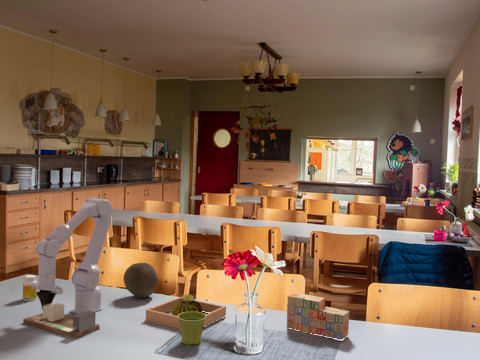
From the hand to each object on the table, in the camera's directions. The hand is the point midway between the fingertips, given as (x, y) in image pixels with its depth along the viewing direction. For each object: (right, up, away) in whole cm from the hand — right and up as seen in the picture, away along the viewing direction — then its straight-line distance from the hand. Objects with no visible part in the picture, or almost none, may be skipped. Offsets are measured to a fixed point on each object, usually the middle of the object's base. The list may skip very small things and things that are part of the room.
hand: (46, 310), depth 169 cm
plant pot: (+54, -7, -14) cm, 56 cm away
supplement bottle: (-18, -3, +26) cm, 32 cm away
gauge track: (+7, -4, -4) cm, 9 cm away
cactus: (+50, -6, +7) cm, 50 cm away
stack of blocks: (+97, -8, -1) cm, 97 cm away
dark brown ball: (+27, -4, +35) cm, 44 cm away
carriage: (+3, -2, -3) cm, 5 cm away
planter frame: (+49, -5, +9) cm, 50 cm away
